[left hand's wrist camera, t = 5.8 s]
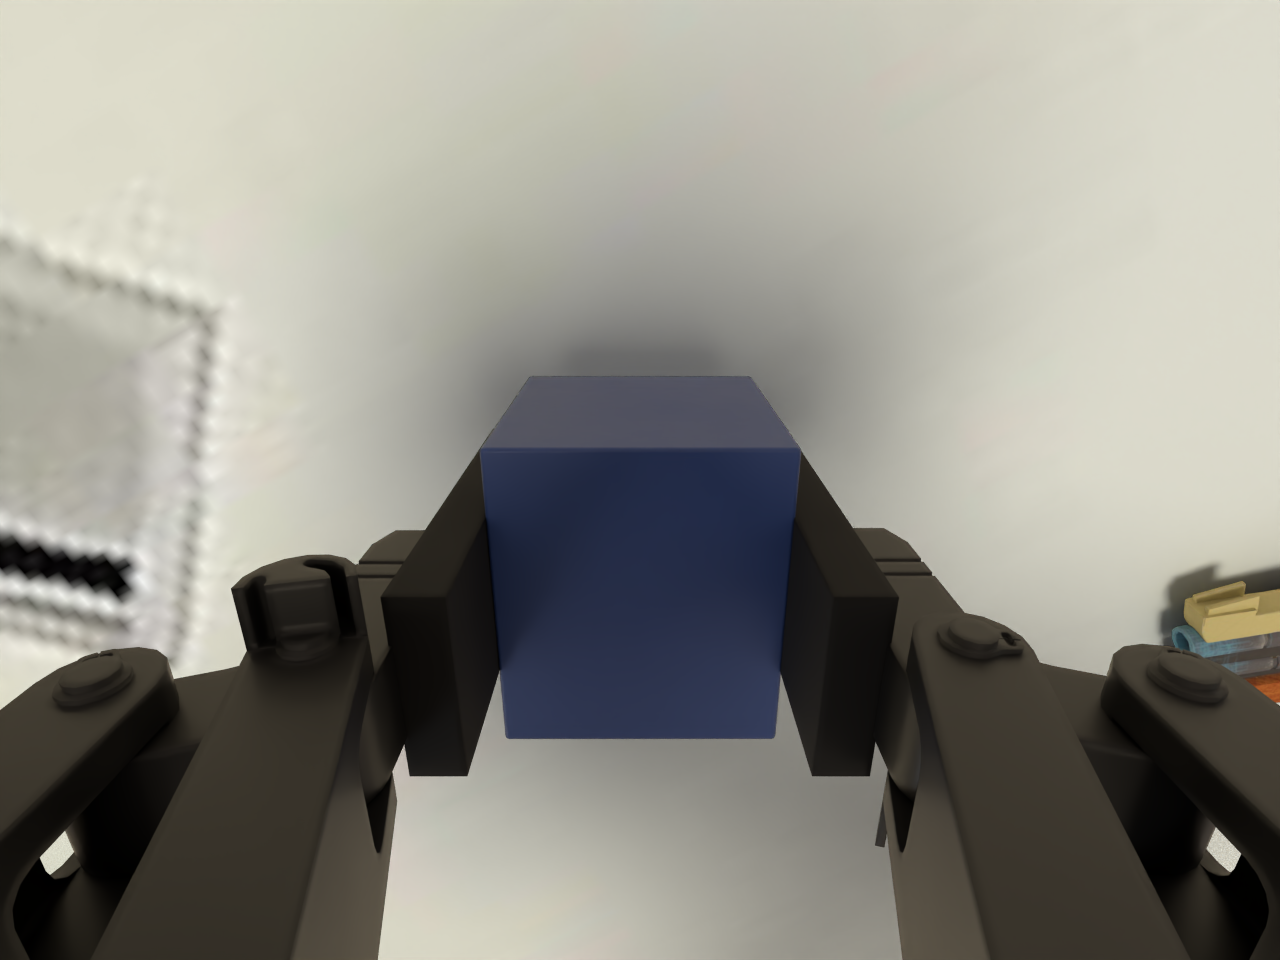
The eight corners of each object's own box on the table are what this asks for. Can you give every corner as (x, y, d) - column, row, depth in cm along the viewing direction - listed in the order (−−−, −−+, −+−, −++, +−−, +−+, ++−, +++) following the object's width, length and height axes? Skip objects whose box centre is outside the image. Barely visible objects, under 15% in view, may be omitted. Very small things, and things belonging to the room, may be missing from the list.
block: (737, 595, 16) (775, 741, 11) (542, 595, 16) (505, 739, 11) (751, 375, 14) (802, 448, 9) (528, 375, 14) (478, 448, 9)
